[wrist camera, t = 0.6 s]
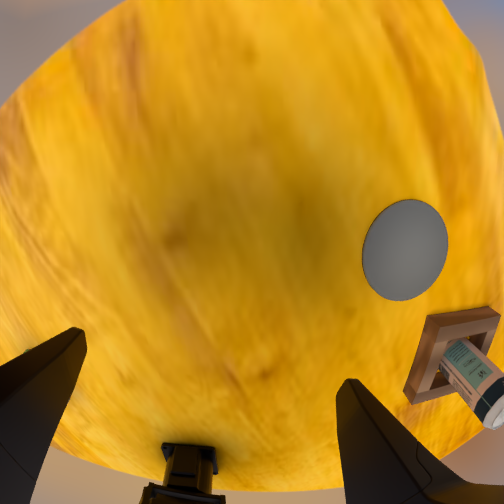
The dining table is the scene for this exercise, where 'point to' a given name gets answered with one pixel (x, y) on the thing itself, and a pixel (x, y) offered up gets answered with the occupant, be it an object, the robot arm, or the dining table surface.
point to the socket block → (434, 343)
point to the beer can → (475, 380)
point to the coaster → (405, 250)
